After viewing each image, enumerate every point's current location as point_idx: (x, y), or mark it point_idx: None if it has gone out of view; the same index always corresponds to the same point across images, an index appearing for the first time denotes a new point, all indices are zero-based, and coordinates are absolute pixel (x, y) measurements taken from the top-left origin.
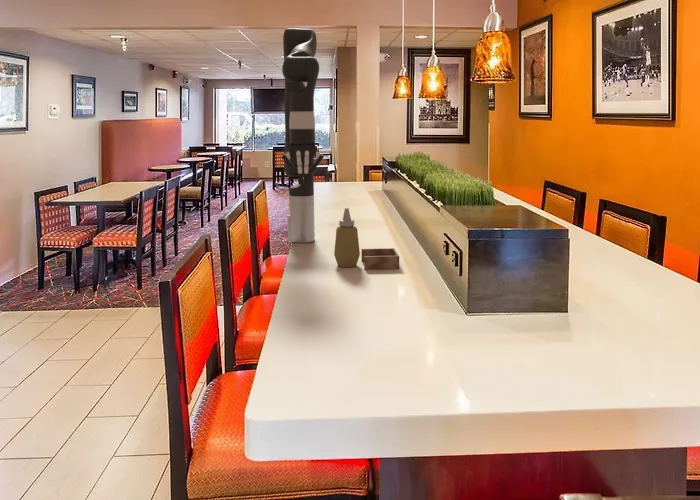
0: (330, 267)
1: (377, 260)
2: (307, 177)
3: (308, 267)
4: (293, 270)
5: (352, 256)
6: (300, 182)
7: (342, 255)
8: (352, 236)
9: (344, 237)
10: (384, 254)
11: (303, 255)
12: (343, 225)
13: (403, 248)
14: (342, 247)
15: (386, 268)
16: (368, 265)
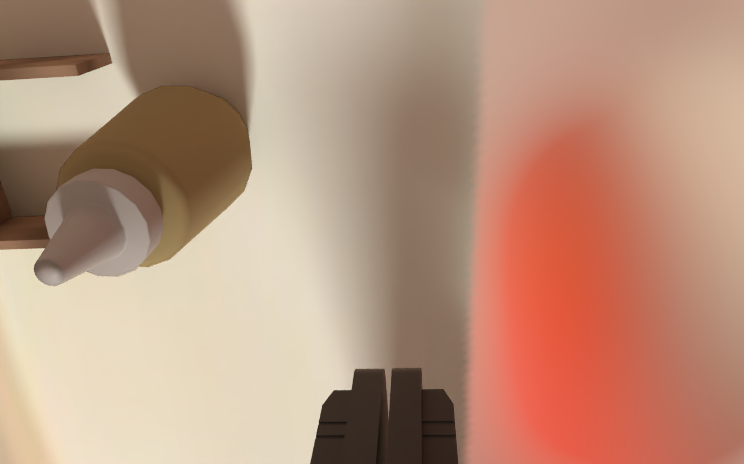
0: (280, 103)
1: (21, 65)
2: (320, 457)
3: (389, 106)
4: (462, 46)
5: (146, 93)
6: (424, 406)
7: (196, 92)
8: (95, 134)
9: (145, 124)
10: (30, 228)
11: (426, 329)
12: (124, 176)
13: (13, 416)
14: (181, 107)
15: (4, 60)
16: (79, 57)
